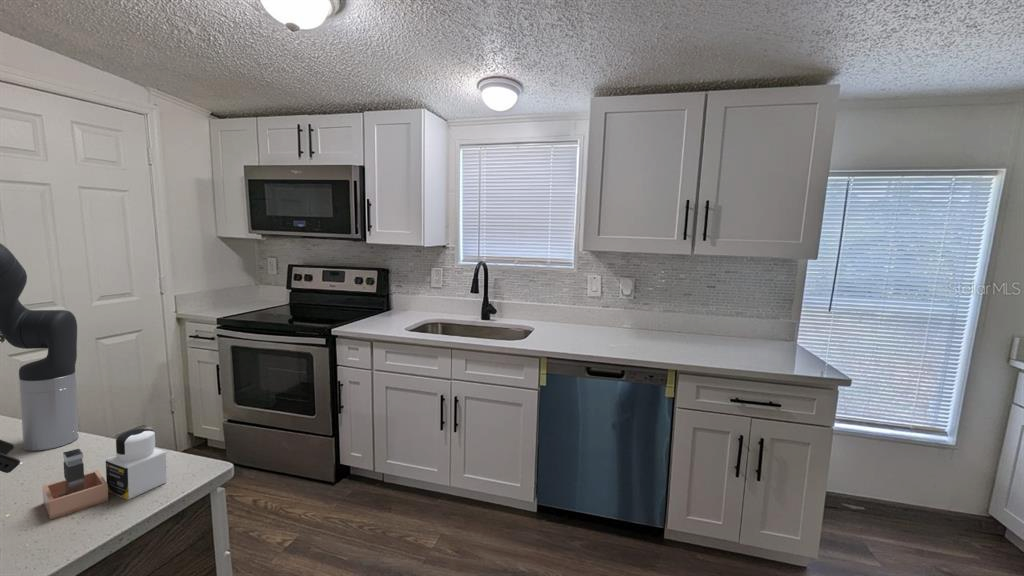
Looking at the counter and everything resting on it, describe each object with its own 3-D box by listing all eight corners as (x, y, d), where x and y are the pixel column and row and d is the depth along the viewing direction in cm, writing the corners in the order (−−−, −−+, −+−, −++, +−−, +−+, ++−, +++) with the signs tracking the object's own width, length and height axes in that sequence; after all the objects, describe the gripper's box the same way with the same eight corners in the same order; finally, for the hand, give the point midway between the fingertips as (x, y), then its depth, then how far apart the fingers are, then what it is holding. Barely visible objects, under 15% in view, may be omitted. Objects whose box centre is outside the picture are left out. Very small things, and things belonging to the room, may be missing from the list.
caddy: (43, 503, 82) (42, 486, 81) (98, 485, 88) (98, 469, 88) (50, 519, 77) (49, 502, 77) (108, 500, 83) (107, 483, 83)
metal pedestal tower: (58, 499, 82) (55, 453, 81) (87, 490, 85) (84, 446, 84) (62, 508, 80) (60, 460, 79) (92, 498, 83) (89, 452, 82)
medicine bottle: (106, 491, 86) (103, 436, 85) (146, 474, 93) (144, 422, 92) (127, 500, 84) (125, 443, 83) (167, 482, 90) (166, 429, 89)
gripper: (-80, 407, 62) (40, 452, 73) (-80, 384, 71) (27, 428, 81) (-142, 454, 59) (-7, 494, 69) (-135, 424, 67) (-15, 465, 77)
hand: (12, 458), depth 75 cm, fingers open, 8 cm apart
